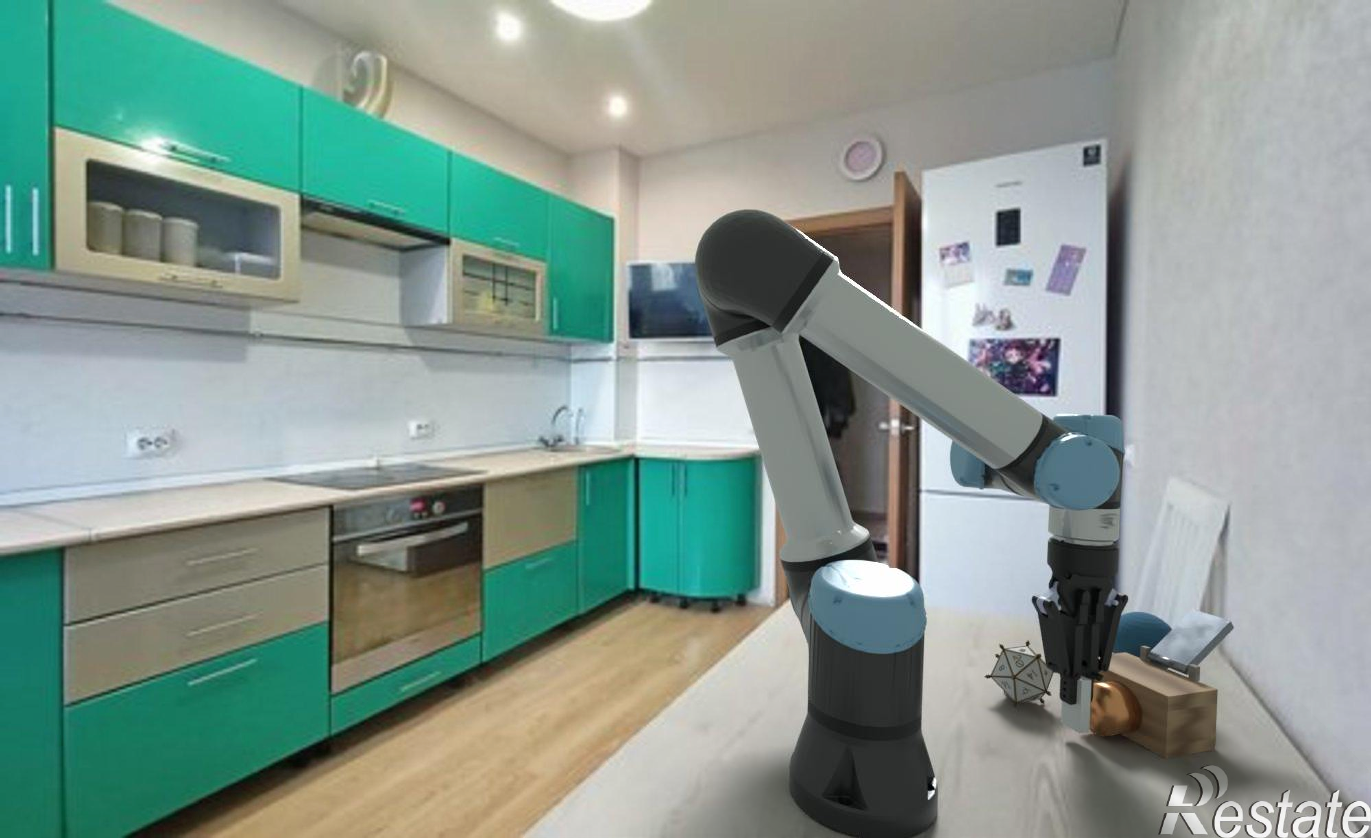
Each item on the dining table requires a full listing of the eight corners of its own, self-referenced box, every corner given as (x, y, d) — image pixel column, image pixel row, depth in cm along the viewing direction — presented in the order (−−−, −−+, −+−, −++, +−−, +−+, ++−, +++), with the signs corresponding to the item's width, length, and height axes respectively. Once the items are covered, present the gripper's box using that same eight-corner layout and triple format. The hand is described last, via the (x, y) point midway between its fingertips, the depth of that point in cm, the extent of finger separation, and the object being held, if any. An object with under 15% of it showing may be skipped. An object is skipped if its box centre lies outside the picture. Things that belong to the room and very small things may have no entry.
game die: (1035, 733, 90) (1076, 695, 84) (974, 705, 91) (1010, 666, 85) (1031, 680, 97) (1069, 641, 91) (975, 655, 98) (1008, 615, 92)
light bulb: (1096, 680, 99) (1099, 602, 98) (1158, 686, 97) (1161, 606, 97) (1121, 705, 90) (1124, 620, 90) (1189, 712, 89) (1193, 625, 88)
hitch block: (1165, 758, 77) (1168, 681, 77) (1078, 711, 88) (1081, 644, 88) (1217, 748, 79) (1220, 674, 79) (1126, 704, 91) (1128, 639, 90)
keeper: (1186, 676, 82) (1182, 669, 82) (1150, 661, 87) (1146, 655, 87) (1234, 627, 84) (1230, 620, 84) (1196, 615, 89) (1192, 609, 89)
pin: (1116, 745, 79) (1117, 696, 78) (1073, 721, 84) (1075, 676, 84) (1212, 729, 83) (1214, 682, 83) (1166, 707, 89) (1168, 664, 89)
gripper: (1066, 547, 75) (1058, 749, 75) (1152, 543, 78) (1143, 736, 79) (1016, 534, 82) (1009, 719, 82) (1096, 531, 85) (1089, 707, 86)
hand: (1075, 727), depth 81 cm, fingers closed
